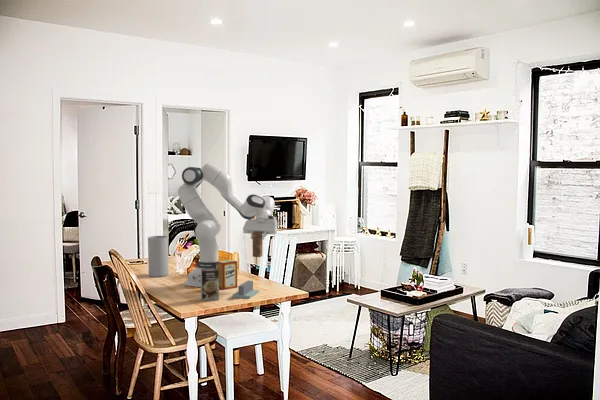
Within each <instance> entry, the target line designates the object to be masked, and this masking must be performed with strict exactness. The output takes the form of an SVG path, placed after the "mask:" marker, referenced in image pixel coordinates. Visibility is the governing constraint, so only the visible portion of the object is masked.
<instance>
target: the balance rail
mask: <svg viewBox="0 0 600 400" xmlns="http://www.w3.org/2000/svg"><path fill="white" fill-rule="evenodd" d="M237 289H238V290H237V291H236V292H234V293H232V298H235V299H237V298H238V299H249V300H250V299H252V298H253V297H254V296H256V295H257V294H259V293H260V289H254V280H250V279H249V280H245V282H243V283H241V284H240V285H237Z"/></svg>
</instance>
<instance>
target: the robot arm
mask: <svg viewBox="0 0 600 400" xmlns="http://www.w3.org/2000/svg"><path fill="white" fill-rule="evenodd" d="M181 179H182V181H183V183H182V184H181V186H179V187H178V189H177V195H178V197H179V200H180V202H181V204H182V206H183V208H184V209H185V210H186V213H187V214H188V216H189V217H190V218H191V219H193V221H194V222H195V223H196V224H197V225H196V227H195V228H194V231H195V235H196V238H197V242H198V248H199V260H198V261H197V262H196V263H195V266H196V265H197V266H196V267H195V268H194V269H193V270H192V271H190V272H189V273H188V275H187V280H186V281H184V282H183V286H188V287H197V288H201V269H217V261H220V260H219V247H218V243H217V239H216V236H218V234H219V233H220V232H221V229H222V224H221V222H220V221H219V220H218V219H217V218H216V216H214V214H213V213H212V212H211V211H210V210H209V209H208V208H207V206H206V204H205V203H204V201H203V200H202V198H201V196H200V194H199V193H198V191H197V188H198V187H199V186H200V185H201V184H202V182H203V181H205V182H207V183H209V184H210V185H212V186H213V188H215V189H216V190H217V191H218V192H219V193H220V195H221V197H222V198H223V199H224V200H225V201H226V202H228V203H229V204H230V206H232V207H233V208H234V209H235V210H236V211H237V213H239V215H240V216H241V217H242V218H243V219H245V223H244V225H243V227H242V231H243V233H244V234H250V239H251V240H253V239H252V233H253V232H262V236H261V237H260V238H261V240H262V241H263V240H264V239H265V237H267V236H268V235H275V234H277V233H278V224H279V223H278V220H277V218H276V217H275V216H274V215H273V213H274V210H275V207H276V206H275V205H276V204H275V200H274V198H273V197H271V196H269V195H265V196H264V195H263V196H261V195H260V196H259V195H258V194H254V193H253V194H249V195H248V196H247V197H246V198H245V200H244V202H243V201H242V200H241V199H240V197H238V196H237V195H236V194H235V193H234V191H233V180H232V177H231V176H230V175H229V174H228V173H227V172H226V171H225V170H223V169H222V168H220V167H218V166H217V165H216V164H213V163H210V162H208V163H205V164H204V165H203V166H202V167H195V166H188V167H186V168H185V169H183V171H182V173H181Z"/></svg>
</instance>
